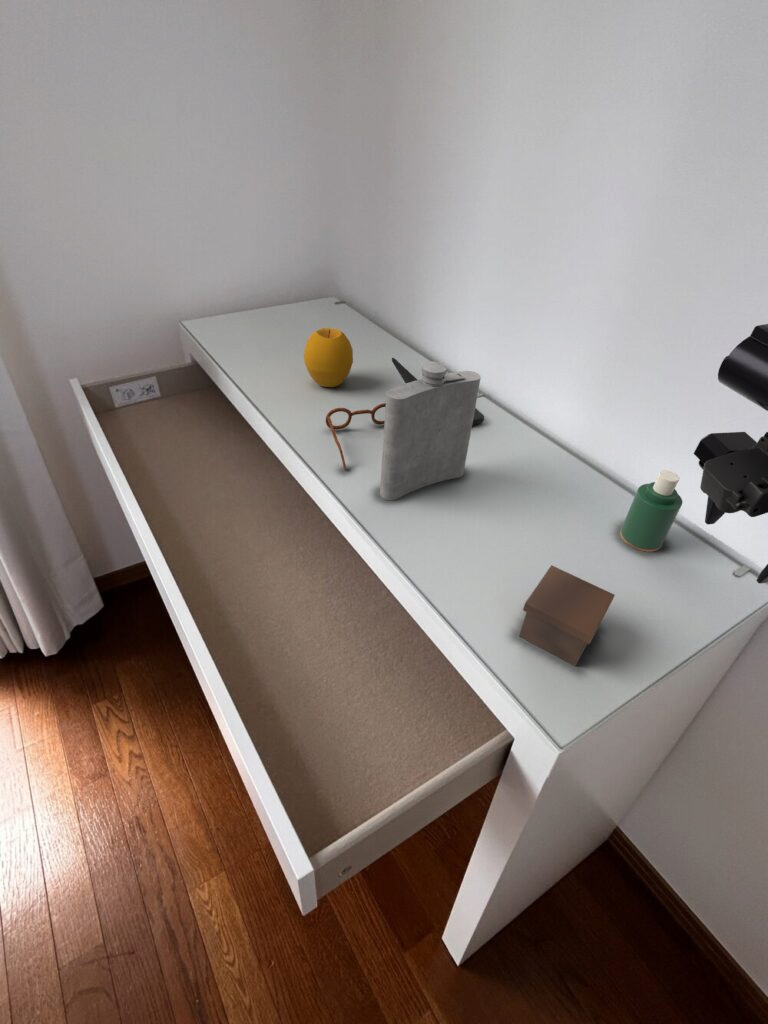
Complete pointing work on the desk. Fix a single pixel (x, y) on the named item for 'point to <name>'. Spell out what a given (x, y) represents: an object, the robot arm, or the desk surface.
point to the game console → (410, 378)
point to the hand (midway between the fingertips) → (733, 551)
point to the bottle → (652, 512)
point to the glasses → (329, 423)
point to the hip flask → (427, 429)
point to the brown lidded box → (564, 614)
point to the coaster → (638, 547)
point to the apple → (328, 357)
